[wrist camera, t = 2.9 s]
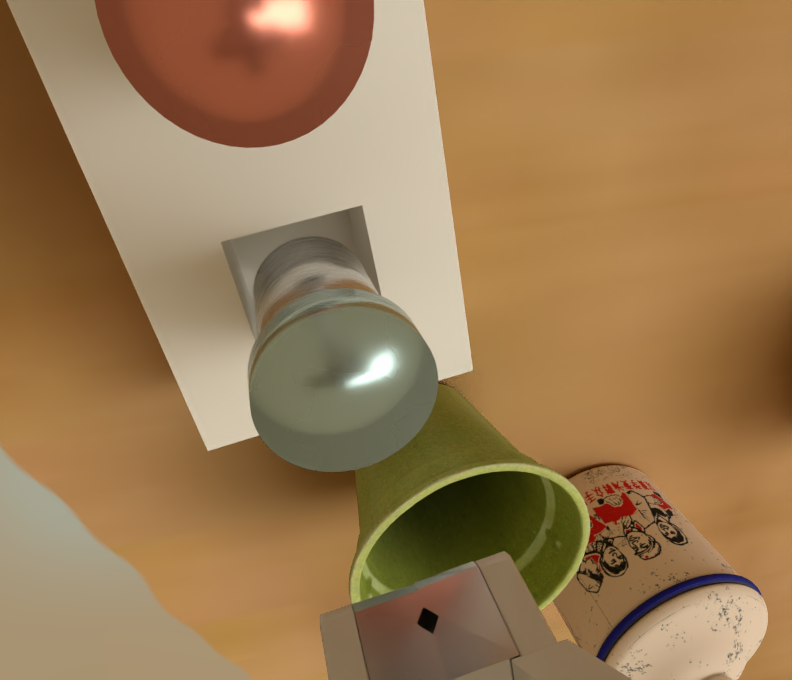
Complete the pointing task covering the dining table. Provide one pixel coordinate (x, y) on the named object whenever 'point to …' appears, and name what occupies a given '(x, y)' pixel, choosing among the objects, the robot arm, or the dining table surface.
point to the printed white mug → (656, 588)
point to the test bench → (259, 200)
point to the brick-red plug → (241, 62)
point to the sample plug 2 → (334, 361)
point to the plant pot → (464, 508)
